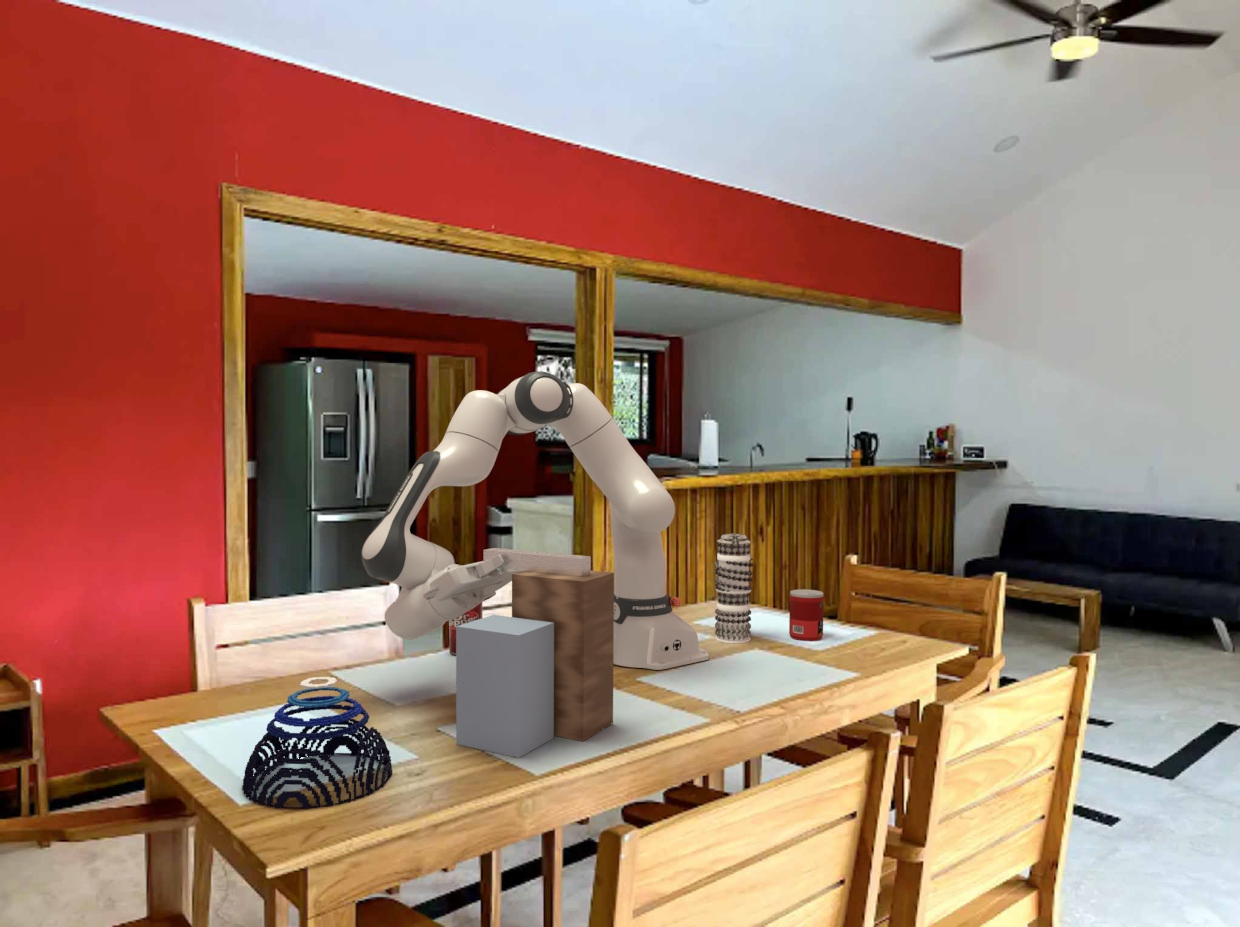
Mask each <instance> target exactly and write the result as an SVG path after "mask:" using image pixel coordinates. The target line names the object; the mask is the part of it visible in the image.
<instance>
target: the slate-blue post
mask: <svg viewBox="0 0 1240 927" xmlns="http://www.w3.org/2000/svg"><path fill="white" fill-rule="evenodd" d="M455 660H456V663H455V664H456V667H455V668H456V669H455V671H456V672H455V673H456V674H455V675H456V678H455V680H456V682H455V683H456V685H455V687H456V693H455V694H456V697H455V699H456V702H455V703H456V705H455V706H456V708H455V709H456V710H455V711H456V712H455V714H456V716H455V717H456V724H455V725H456V727H455V728H456V733H455V734H456V741H455V743H456V744H455V745H458V746H463V747H467V748H471V749H472V748H473V749H475V750H481V751H486V752H490V753H494V754H499V755H505V756H508V757H512V758H517V759H520V758H521V757H523V756H525V755H526V754H528V753H530V752H531V751H533V750H535V749H537V748H540V747H541V746H542V745H544V744H546V743H548V742H549V741H552V740H553V739H555V738H554V737H555V736H554V623H553V622H545V621H538V620H530V619H522V618H515V617H512V616H505V615H499V614H498V615H497V614H491V615H488V616H485V617H482V619H478V620H475V621H472V622H469V623H466V624H462V625H459V626H456V655H455Z"/></svg>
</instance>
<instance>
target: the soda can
mask: <svg viewBox="0 0 1240 927" xmlns="http://www.w3.org/2000/svg"><path fill="white" fill-rule="evenodd" d="M482 618H483V602H481V603H480V604H478V605H477V606H476V607H474V608H473V609H471V610H469V611H468V612H466V613H464V614H463V615H461V616H459V617H457V618H456V619H453V620H449V622H448V626H449V627H448V630H449V632H448V637H449V640H448V641H449V642H448V643H449V647H448V650H449V652H450V654H451V655H453V656H456V626H459V625H462V624H466V623H469V622H472V621H475V620H478V619H482Z"/></svg>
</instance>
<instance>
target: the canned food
mask: <svg viewBox="0 0 1240 927" xmlns="http://www.w3.org/2000/svg"><path fill="white" fill-rule="evenodd" d="M789 592H790V593H789V619H788V620H789V621H788V622H789V629H788V630H789V632H788V633H789V636H790V638H791V639H793V640H795V641H796V640H797V641H802V642H803V641H805V642H817V641H820V640H822V639H823V636H824V611H825V610H824V609H825V608H824V601H825V600H824V597H825V595H824V592H823V591H820V590H817V589H816V590H815V589H806V588H805V589H793V590H790V591H789Z"/></svg>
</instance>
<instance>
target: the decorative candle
mask: <svg viewBox="0 0 1240 927" xmlns="http://www.w3.org/2000/svg"><path fill="white" fill-rule="evenodd" d="M716 542H718V543H717V544H718V545H717V558H716V559H717V561H716V562H714V568H715V569H714V574H715V575H716V577H715V579H714V581H715V584H714V588H715V591H716V592H717V600H716V608H715V610H714V613H715V614H716V615H715V617H714V620H715V621H716V622H715V623H714V627H715V630H714V634H715V636H714V637H715V638H714V640H716V641H717V642H720V643H725V644H737V645H738V644H745V643H749V642H751V637H750V636H751V635H752V633H751V632H752V631H751V628H752V624H751V623H750V622H751V621H752V618H751V616H750V615H751V614H752V610H750V609H751V605H750V593H751V592H752V589H753V588H752V586H750V583H751V582H753V578H752V577H751V576H752V575H753V574H754V573H753V571H751V570H750V568H752V567H754V563H752V562H751V561H753V560H754V559H753V558H752V557H751V552H750V551H751V550H750V549H751V547H750V546H751V543H752V541H751V540H749V539H748V536H746V534H742V533H724V534H721V536H720V538H719V539H718V540H716Z"/></svg>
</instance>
